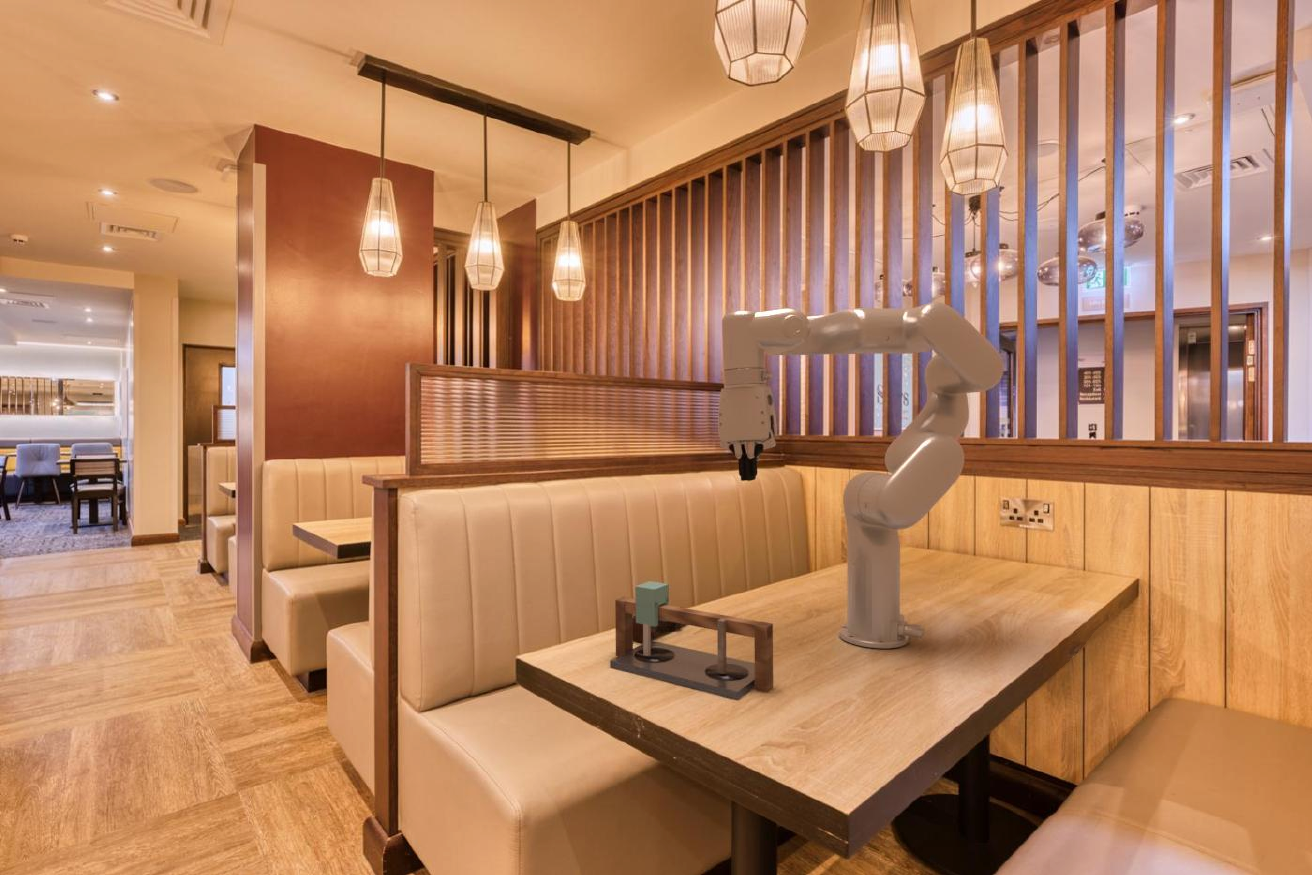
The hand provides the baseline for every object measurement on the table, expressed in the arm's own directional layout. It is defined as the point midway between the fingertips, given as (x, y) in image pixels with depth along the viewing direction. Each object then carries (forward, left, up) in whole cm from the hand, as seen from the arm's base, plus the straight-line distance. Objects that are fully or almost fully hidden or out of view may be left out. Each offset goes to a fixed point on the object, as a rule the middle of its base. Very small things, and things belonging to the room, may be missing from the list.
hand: (748, 479), depth 120 cm
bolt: (+18, +2, -31) cm, 36 cm away
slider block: (+10, +16, -29) cm, 35 cm away
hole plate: (+3, +16, -31) cm, 35 cm away
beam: (+3, +16, -31) cm, 35 cm away
